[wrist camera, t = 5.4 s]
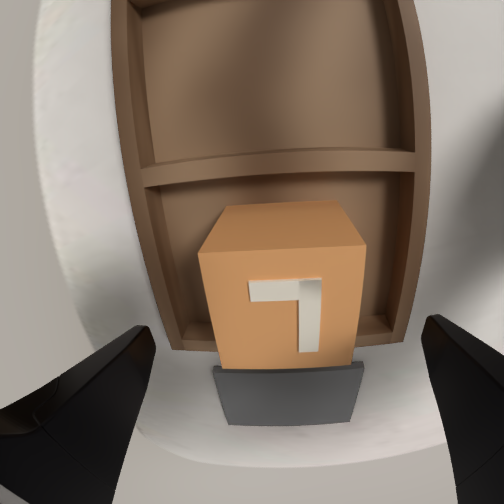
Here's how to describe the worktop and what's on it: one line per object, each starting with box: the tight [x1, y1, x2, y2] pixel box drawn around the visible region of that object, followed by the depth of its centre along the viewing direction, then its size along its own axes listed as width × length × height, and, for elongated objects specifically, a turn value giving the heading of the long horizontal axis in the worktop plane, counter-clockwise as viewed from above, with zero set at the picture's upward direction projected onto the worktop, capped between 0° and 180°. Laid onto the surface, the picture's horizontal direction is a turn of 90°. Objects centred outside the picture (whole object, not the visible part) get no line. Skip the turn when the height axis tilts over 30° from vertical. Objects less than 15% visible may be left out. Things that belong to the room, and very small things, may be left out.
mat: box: [213, 361, 364, 426], centre depth 19 cm, size 10×7×1 cm
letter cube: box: [198, 200, 366, 369], centre depth 12 cm, size 5×5×5 cm
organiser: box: [111, 0, 431, 352], centre depth 10 cm, size 13×28×2 cm, turn 5°
